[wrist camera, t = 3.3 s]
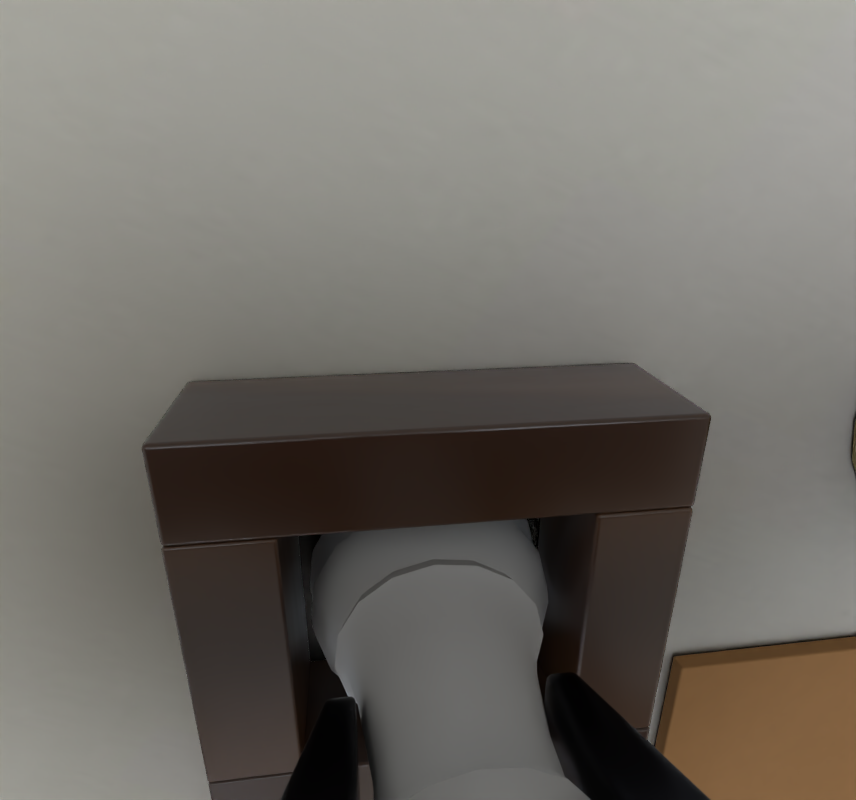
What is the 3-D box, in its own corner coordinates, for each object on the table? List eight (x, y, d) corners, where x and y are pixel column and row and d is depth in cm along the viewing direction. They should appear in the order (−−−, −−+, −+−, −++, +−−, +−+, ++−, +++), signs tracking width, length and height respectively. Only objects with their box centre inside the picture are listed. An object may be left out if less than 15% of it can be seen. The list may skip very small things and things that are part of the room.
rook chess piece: (376, 674, 13) (423, 1362, 5) (265, 526, 11) (112, 1243, 4) (560, 584, 13) (868, 1178, 5) (475, 419, 11) (756, 958, 3)
